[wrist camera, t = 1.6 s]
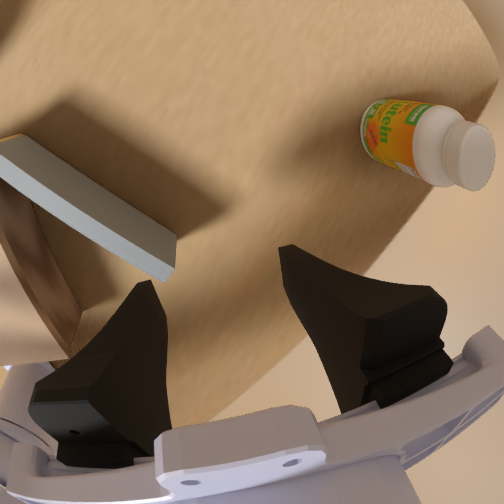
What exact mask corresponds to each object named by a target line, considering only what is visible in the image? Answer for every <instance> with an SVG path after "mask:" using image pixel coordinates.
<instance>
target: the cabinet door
mask: <svg viewBox="0 0 504 504" xmlns="http://www.w3.org/2000/svg"><path fill="white" fill-rule="evenodd" d="M0 177H1V178H2V179H4V180H5V181H6V182H7V183H9V184H10V185H12V186H13V187H14V188H16V189H17V190H18V191H20V192H21V193H22V194H24V195H25V196H27V197H28V198H29V199H31V200H32V201H34V202H35V203H37V204H38V205H39V206H41V207H42V208H44V209H45V210H47V211H48V212H50V213H51V214H52V215H54V216H55V217H57V218H58V219H60V220H61V221H63V222H64V223H66V224H67V225H69V226H70V227H72V228H74V229H75V230H77V231H78V232H80V233H81V234H83V235H84V236H86V237H88V238H89V239H91V240H92V241H94V242H95V243H97V244H99V245H100V246H102V247H103V248H105V249H107V250H108V251H110V252H112V253H113V254H115V255H117V256H118V257H120V258H122V259H123V260H125V261H127V262H128V263H130V264H132V265H133V266H135V267H137V268H139V269H140V270H142V271H144V272H145V273H147V274H149V275H151V276H152V277H154V278H156V279H158V280H160V281H161V282H163V283H165V282H166V280H167V279H168V277H169V276H170V275H171V273H172V272H173V271H174V269H175V259H176V241H177V235H176V234H175V233H173V232H171V231H170V230H168V229H167V228H165V227H163V226H162V225H160V224H159V223H157V222H156V221H154V220H153V219H151V218H149V217H148V216H146V215H145V214H143V213H142V212H140V211H138V210H137V209H135V208H134V207H132V206H131V205H129V204H128V203H126V202H125V201H123V200H121V199H120V198H118V197H117V196H115V195H114V194H112V193H111V192H109V191H108V190H106V189H105V188H103V187H102V186H100V185H99V184H97V183H96V182H94V181H93V180H91V179H90V178H88V177H87V176H85V175H84V174H82V173H81V172H79V171H78V170H76V169H75V168H73V167H72V166H70V165H69V164H67V163H66V162H64V161H63V160H61V159H60V158H58V157H57V156H55V155H54V154H53V153H51V152H50V151H48V150H47V149H45V148H44V147H42V146H41V145H39V144H38V143H37V142H35V141H34V140H32V139H31V138H29V137H28V136H27V135H23V134H17V135H13V136H9V137H6V138H2V139H0Z"/></svg>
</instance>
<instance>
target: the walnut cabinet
mask: <svg viewBox="0 0 504 504" xmlns="http://www.w3.org/2000/svg"><path fill="white" fill-rule="evenodd" d="M82 312H83V311H82V310H81V308H80V306H79V305H78V303H77V301H76V299H75V297H74V296H73V294H72V292H71V290H70V288H69V286H68V284H67V283H66V281H65V279H64V277H63V275H62V273H61V271H60V269H59V267H58V265H57V263H56V261H55V258H54V256H53V254H52V252H51V250H50V248H49V245H48V243H47V241H46V239H45V236H44V234H43V231H42V229H41V227H40V224H39V222H38V219H37V217H36V214H35V211H34V209H33V206H32V203H31V201H30V199H29V198H28V197H27V196H25V195H24V194H22V193H21V192H20V191H18V190H17V189H16V188H14V187H13V186H12V185H10V184H9V183H7V182H6V181H5V180H4V179H2V178H1V177H0V366H9V365H20V364H30V363H39V362H47V361H55V360H63V359H69V358H70V355H71V350H70V346H71V343H72V340H73V337H74V334H75V331H76V329H77V326H78V323H79V320H80V318H81V315H82Z"/></svg>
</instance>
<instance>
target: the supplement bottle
mask: <svg viewBox="0 0 504 504" xmlns="http://www.w3.org/2000/svg"><path fill="white" fill-rule="evenodd" d="M360 135H361V141H362V144H363V146H364V148H365V150H366V151H367V153H368V154H369V155H370V156H371V157H372V158H373V159H375V160H376V161H378V162H381V163H383V164H385V165H388V166H390V167H393V168H395V169H397V170H400V171H402V172H405V173H407V174H409V175H411V176H414V177H416V178H418V179H420V180H423V181H425V182H427V183H429V184H431V185H434V186H437V187H449V186H452V185H454V184H456V185H458V186H461V187H463V188H465V189H468V190H470V191H478V190H480V189H481V188H483V187H484V186H485V185H486V183H487V182H488V180H489V178H490V176H491V174H492V171H493V168H494V163H495V145H494V141H493V138H492V135H491V133H490V132H489V130H488V129H487V128H486V127H484V126H483V125H481V124H477V123H474V122H470V121H466V120H465V119H464V118H463V116H462V115H461V114H460V113H459V112H458V111H456V110H454V109H453V108H450V107H447V106H443V105H437V104H430V103H422V102H414V101H405V100H394V99H382V100H378V101H376V102H374V103H372V104H371V105H370V106H369V107H368V108H367V109H366V111H365V112H364V114H363V117H362V120H361V125H360Z"/></svg>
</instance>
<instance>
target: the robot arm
mask: <svg viewBox="0 0 504 504" xmlns="http://www.w3.org/2000/svg"><path fill="white" fill-rule="evenodd" d="M278 249H279V256H280V263H281V271H282V278H283V286H284V289H285V291H286V294H287V296H288V299H289V301H290V303H291V305H292V307H293V309H294V311H295V312H296V314H297V316H298V318H299V319H300V321H301V323H302V324H303V326H304V328H305V330H306V331H307V333H308V335H309V337H310V338H311V340H312V342H313V344H314V346H315V347H316V350H317V352H318V354H319V357H320V359H321V361H322V363H323V366H324V369H325V371H326V374H327V376H328V378H329V381H330V384H331V386H332V389H333V391H334V394H335V397H336V399H337V402H338V405H339V408H340V411H341V415H338V416H335V417H333V418H330V419H327V420H325V421H321V422H319V423H317V421H316V418H315V416H314V414H313V413H312V411H311V410H310V409H309V408H306V407H301V406H295V405H286V406H280V407H274V408H269V409H265V410H262V411H257V412H253V413H249V414H245V415H241V416H236V417H232V418H227V419H223V420H217V421H212V422H207V423H201V424H195V425H189V426H183V427H178V428H174V429H172V426H171V420H170V413H169V406H168V397H167V388H166V366H167V344H168V330H167V318H166V314H165V312H164V309H163V307H162V305H161V303H160V300H159V298H158V296H157V293H156V291H155V289H154V286H153V284H152V282H151V280H147V281H143V282H139V283H137V284H136V285H135V287H134V288H133V289H132V291H131V292H130V293H129V295H128V296H127V297H126V299H125V300H124V301H123V303H122V304H121V306H120V307H119V308H118V310H117V311H116V312H115V314H114V315H113V316H112V317H111V319H110V320H109V321H108V322H107V324H106V325H105V326H104V327H103V328H102V330H101V331H100V332H99V333H98V334H97V335H96V336H95V337H94V338H93V339H92V340H91V341H90V342H89V343H88V344H87V345H86V346H85V347H84V348H83V349H82V350H81V351H80V352H78V353H77V354H76V355H75V356H74V357H73V358H71V359H70V360H69V361H68V362H66V363H65V364H64V365H62V366H61V367H60V368H58V369H57V370H55V369H54V368H53V366H52V365H51V364H50V363H49V362H48V361H47V362H39V363H30V364H20V365H9V366H4V367H5V368H6V370H7V371H8V373H7V375H6V378H5V380H4V383H3V386H2V388H1V391H0V484H1V485H3V486H5V487H6V490H5V489H3V488H2V487H0V504H421V502H420V500H419V498H418V496H417V494H416V492H415V490H414V488H413V486H412V484H411V482H410V480H409V478H408V476H407V474H406V472H405V470H407V469H408V468H410V467H412V466H413V465H415V464H417V463H418V462H420V461H421V460H423V459H424V458H426V457H427V456H429V455H430V454H432V453H433V452H435V451H436V450H438V449H439V448H441V447H442V446H443V445H445V444H446V443H448V442H449V441H450V440H452V439H453V438H454V437H456V436H457V435H458V434H460V433H461V432H462V431H463V430H465V429H466V428H467V427H468V426H470V425H471V424H472V423H474V422H475V421H476V420H477V419H478V418H480V417H481V416H482V415H483V414H484V413H486V412H487V411H488V410H489V409H490V408H491V407H493V406H494V405H495V404H496V403H497V402H498V401H499V400H500V398H501V397H502V396H503V395H504V340H503V339H502V338H501V337H500V336H499V335H498V334H497V333H496V332H495V331H494V330H493V329H492V328H491V327H490V326H486V327H484V328H483V329H481V330H480V331H479V332H477V333H476V334H474V335H473V336H472V337H470V338H469V340H468V341H467V342H466V344H465V345H464V348H463V350H462V353H461V354H460V355H458V356H457V357H455V358H454V359H452V360H451V358H450V357H449V356H448V355H447V354H446V353H445V351H444V350H443V349H442V348H444V342H443V341H442V340H441V339H440V338H439V337H440V334H441V331H442V329H443V325H444V323H445V320H446V316H447V303H446V301H445V300H444V299H443V298H442V297H441V296H440V295H439V294H438V293H437V292H436V291H435V290H434V289H433V288H432V287H430V286H423V285H406V284H398V283H390V282H385V281H380V280H376V279H371V278H367V277H364V276H360V275H357V274H354V273H351V272H348V271H346V270H343V269H340V268H338V267H336V266H334V265H331V264H329V263H327V262H325V261H323V260H321V259H319V258H317V257H315V256H313V255H311V254H309V253H308V252H306V251H304V250H302V249H300V248H299V247H297V246H295V245H293V244H291V245H287V246H283V247H279V248H278Z"/></svg>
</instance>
